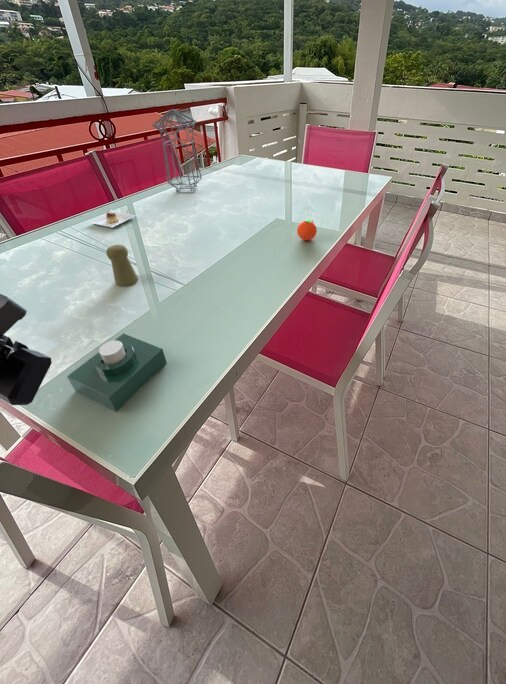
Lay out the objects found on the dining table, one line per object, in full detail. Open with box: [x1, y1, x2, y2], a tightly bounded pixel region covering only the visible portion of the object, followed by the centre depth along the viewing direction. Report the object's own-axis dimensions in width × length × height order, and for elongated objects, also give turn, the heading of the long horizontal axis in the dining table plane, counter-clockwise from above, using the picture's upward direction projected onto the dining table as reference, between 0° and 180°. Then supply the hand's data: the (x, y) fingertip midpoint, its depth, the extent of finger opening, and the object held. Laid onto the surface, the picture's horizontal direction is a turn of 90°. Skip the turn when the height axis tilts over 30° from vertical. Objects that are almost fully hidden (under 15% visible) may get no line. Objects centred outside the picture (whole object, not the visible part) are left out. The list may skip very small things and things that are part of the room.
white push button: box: [98, 339, 126, 365], centre depth 63 cm, size 4×4×2 cm
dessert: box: [87, 209, 136, 229], centre depth 128 cm, size 12×12×5 cm
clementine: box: [296, 219, 318, 241], centre depth 117 cm, size 8×7×7 cm
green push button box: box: [66, 332, 168, 413], centre depth 65 cm, size 13×11×6 cm
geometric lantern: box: [151, 108, 203, 194], centre depth 151 cm, size 16×16×35 cm
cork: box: [105, 244, 139, 288], centre depth 92 cm, size 6×6×11 cm
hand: (48, 364), depth 52 cm, fingers closed
